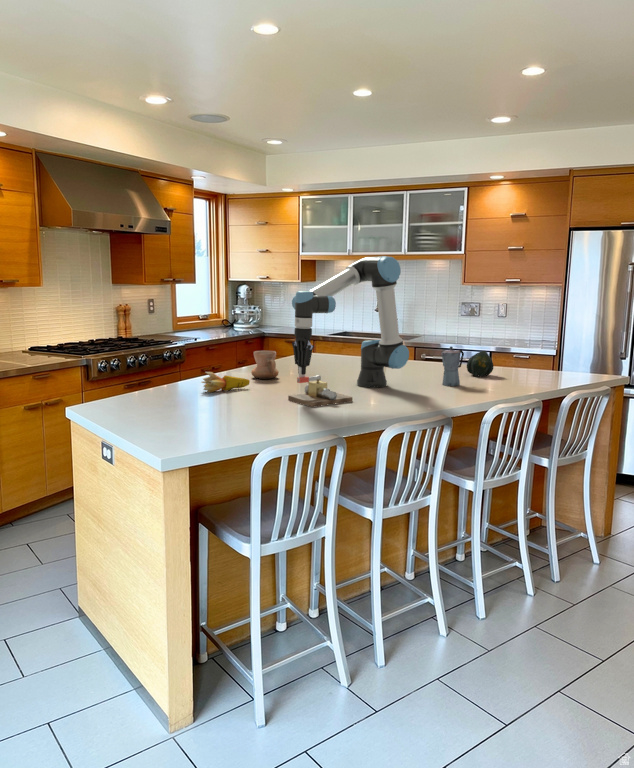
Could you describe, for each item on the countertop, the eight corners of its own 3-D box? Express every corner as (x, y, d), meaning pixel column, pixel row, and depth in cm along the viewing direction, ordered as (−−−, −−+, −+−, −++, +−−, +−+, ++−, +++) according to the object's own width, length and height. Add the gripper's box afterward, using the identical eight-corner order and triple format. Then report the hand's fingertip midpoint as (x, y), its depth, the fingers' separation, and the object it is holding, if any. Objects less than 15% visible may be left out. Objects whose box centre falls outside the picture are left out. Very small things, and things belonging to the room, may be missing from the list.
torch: (248, 396, 301) (201, 394, 286) (242, 386, 306) (195, 384, 292) (254, 382, 297) (206, 380, 283) (247, 372, 303) (201, 370, 288)
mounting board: (327, 394, 288) (327, 390, 287) (352, 401, 273) (352, 397, 273) (288, 399, 275) (288, 395, 274) (312, 407, 260) (312, 402, 260)
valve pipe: (313, 393, 283) (313, 377, 282) (338, 400, 268) (339, 384, 267) (302, 394, 280) (302, 378, 278) (327, 401, 264) (328, 385, 263)
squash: (461, 367, 346) (480, 347, 341) (462, 364, 360) (481, 346, 355) (479, 385, 344) (499, 365, 339) (480, 381, 358) (499, 363, 354)
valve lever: (318, 379, 276) (318, 374, 275) (322, 380, 274) (322, 375, 274) (296, 382, 268) (296, 377, 268) (300, 383, 266) (300, 378, 266)
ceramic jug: (245, 376, 335) (245, 350, 332) (269, 374, 343) (269, 349, 340) (261, 382, 320) (261, 355, 317) (285, 380, 328) (285, 353, 325)
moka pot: (434, 384, 319) (435, 346, 315) (454, 382, 328) (456, 344, 324) (448, 387, 311) (450, 348, 308) (468, 384, 320) (470, 346, 317)
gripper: (287, 326, 268) (286, 379, 273) (305, 329, 259) (303, 384, 263) (301, 325, 273) (299, 378, 277) (319, 328, 263) (317, 383, 268)
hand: (301, 381), depth 270 cm, fingers closed
